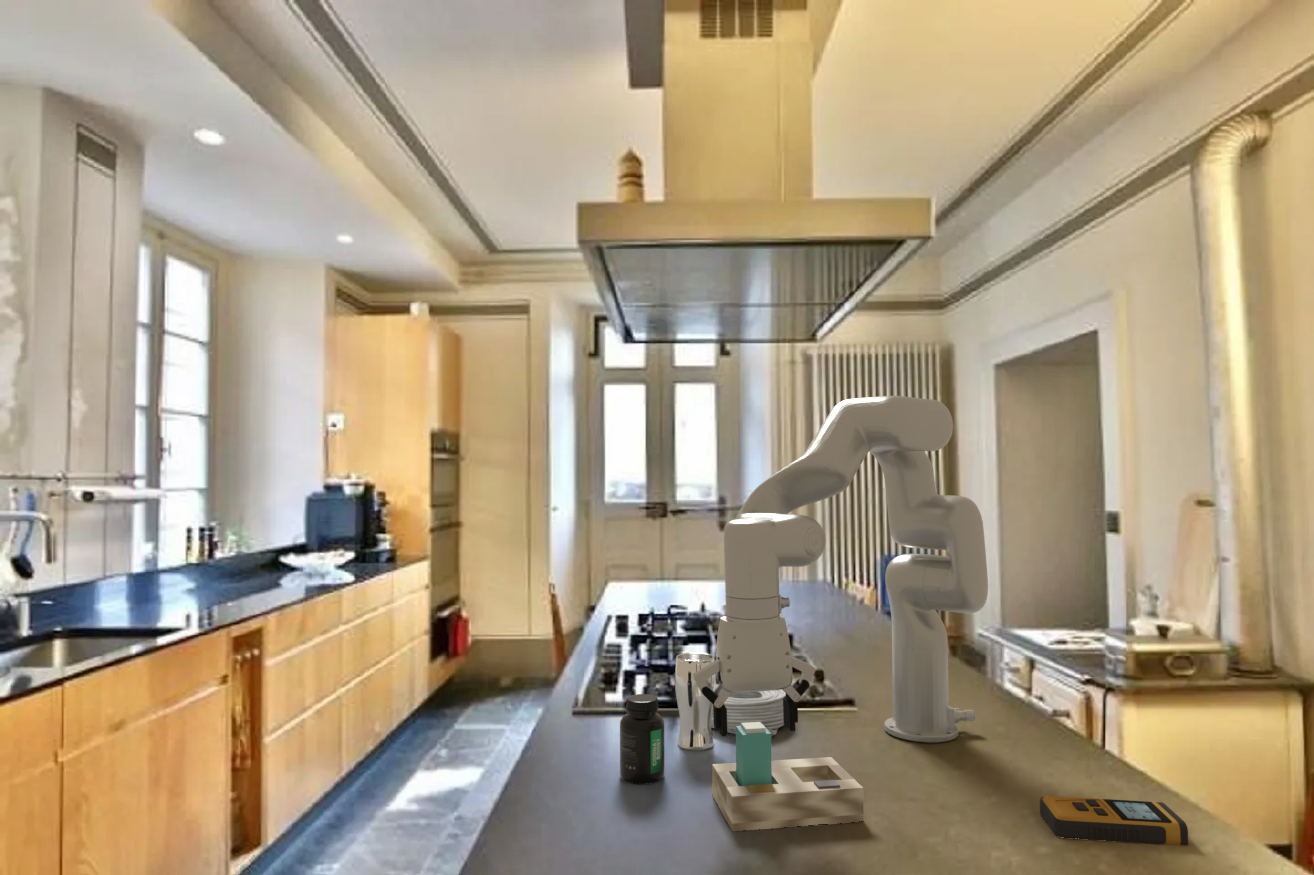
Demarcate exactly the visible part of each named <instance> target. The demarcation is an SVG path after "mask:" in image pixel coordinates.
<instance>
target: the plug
mask: <svg viewBox="0 0 1314 875" xmlns="http://www.w3.org/2000/svg"><path fill="white" fill-rule="evenodd" d="M771 761H772V737H771V733H770V732H769V731H768V729H767V728H766V727H765V726H764V725H763V724H762V723H761V722H748V723H741V726H736V734H735V763H736V783H737V784H738V786H749V785H761V784H772V772H771Z"/></svg>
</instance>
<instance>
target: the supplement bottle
mask: <svg viewBox="0 0 1314 875" xmlns="http://www.w3.org/2000/svg"><path fill="white" fill-rule="evenodd" d="M658 702H659V701H658V697H657V696H656V695H653V694H649V693H648V694H645V693H641V694H640V693H639V694H638V693H637V694H632V695H629V696H627V697H626V702H625V704H626V706H625V712H627V713H626V714H624V715H623V716H622V717H621V719H620V722H619V773H620V774H619V775H620V777H621V779H622V780H623V781H624V782H626V783H629V784H632V785H651V784H650V783H652V784H655V783H657V782H660V781H661V780H662V779H663V778H664V777H665V721H664V718H663V717H662V715H660V714H659V713H657V712H658V711H659V706H658V705H659V704H658Z"/></svg>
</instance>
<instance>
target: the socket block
mask: <svg viewBox="0 0 1314 875" xmlns="http://www.w3.org/2000/svg"><path fill="white" fill-rule="evenodd" d="M711 766H712V767H711V770H712V771H711V772H712V773H711V774H712V775H711V777H712V778H711V782H712V783H711V784H712V788H711V789H712V792H711V793H712V794H711V795H712V797H713V799H714V801H715V802H716V805H717V804H718V805H717V807H718V808H719V810H720V812H721V814H722V815H723V817H724V819H725V820H726V823H727V822H728V823H727V824H728V826H729V828H730V827H731V828H730V830H731V831H732V832H742V831H743V830H746V831H756V830H757V831H758V830H759V829H760V830H770V829H771V830H772V828H773V829H783V828H784V827H787V828H798V827H797V826H801V827H809V826H808V825H814V826H819V825H818V824H828V825H840V823H842V824H852V823H851V822H855V823H862V822H861V821H864V820H865V819H864V817H865V816H864V814H865V813H864V787H863V786H862V785H861V784H860V783H859V782H858V781H857V780H856V779H855V778H854V777H853V776H851V775H850V774H849V772H847V771H846V770H845V769H844V768H843V767H842V766H841V765H840V764H839V763H838V762H837V761H836V760H835V759H834V758H833V757H831V756H828V757H827V756H826V757H825V756H824V757H823V756H822V757H811V758H810V757H809V758H795V759H794V758H793V759H792V758H791V759H776V760H771V772H772V784H761V785H749V786H738V784H737V783H736V762H727V763H724V762H723V763H713V764H711ZM859 821H860V822H859ZM864 822H865V821H864ZM838 823H839V824H838ZM815 824H816V825H815ZM805 825H806V826H805ZM782 827H783V828H782ZM784 829H785V828H784ZM743 832H744V831H743Z"/></svg>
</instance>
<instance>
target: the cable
mask: <svg viewBox="0 0 1314 875" xmlns="http://www.w3.org/2000/svg"><path fill="white" fill-rule="evenodd" d="M719 684H720V683H716V688H717V686H718V685H719ZM716 688H715V689H716ZM784 696H786V693H785V692H784V691H783V690H782V689H781V690H771V691H758V692H743V693H731V695H730V696H729V697H728V699H727V700H726V701H725V703H724V706H725V707H726V708H727V733H729V734H733V735H736V726H741V723H748V722H761V723H762V724H763V725H764V726H765V727H766V728H767V729H768V731H769V732H770V733H771V738H773V736H775V735H777V732H778V730H779V728H782V727H783V726H785V725H784V719H783V698H784ZM711 729H715V727H714V718H713V710H712V717H711Z"/></svg>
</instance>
